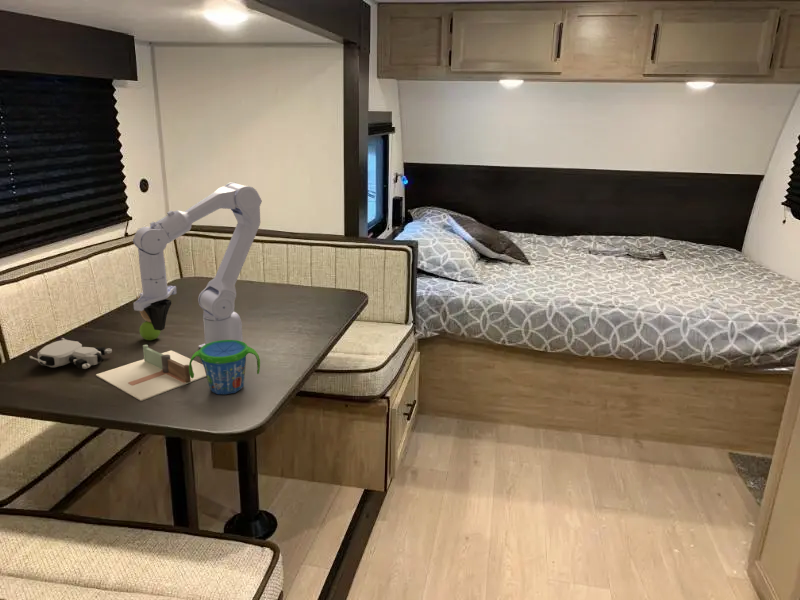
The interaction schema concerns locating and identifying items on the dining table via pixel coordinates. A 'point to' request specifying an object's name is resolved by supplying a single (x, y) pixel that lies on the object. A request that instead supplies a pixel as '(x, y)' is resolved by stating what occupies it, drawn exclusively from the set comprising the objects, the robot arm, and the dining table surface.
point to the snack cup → (224, 364)
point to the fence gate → (152, 356)
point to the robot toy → (70, 354)
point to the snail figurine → (147, 327)
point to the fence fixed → (175, 368)
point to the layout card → (149, 377)
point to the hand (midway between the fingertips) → (159, 329)
